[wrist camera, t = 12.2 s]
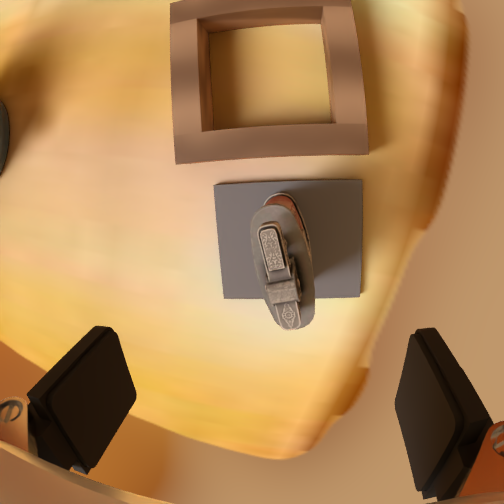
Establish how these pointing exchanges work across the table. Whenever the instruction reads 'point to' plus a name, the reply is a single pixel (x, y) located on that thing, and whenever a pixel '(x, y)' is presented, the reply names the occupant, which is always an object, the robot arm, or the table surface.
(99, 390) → the robot arm
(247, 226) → the charcoal mat
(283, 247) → the lighter
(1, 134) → the canister
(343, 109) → the frame
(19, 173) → the table surface
